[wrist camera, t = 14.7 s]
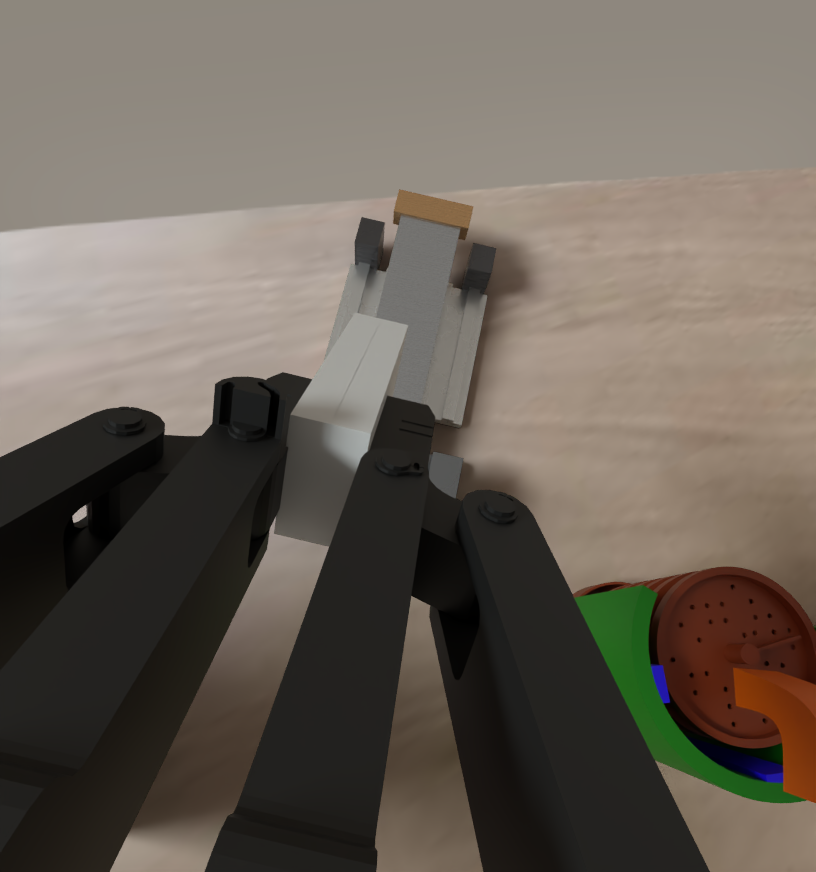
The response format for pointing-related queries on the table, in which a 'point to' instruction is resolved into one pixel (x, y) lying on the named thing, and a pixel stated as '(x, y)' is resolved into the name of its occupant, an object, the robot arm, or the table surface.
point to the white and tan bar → (420, 280)
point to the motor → (715, 676)
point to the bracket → (452, 338)
